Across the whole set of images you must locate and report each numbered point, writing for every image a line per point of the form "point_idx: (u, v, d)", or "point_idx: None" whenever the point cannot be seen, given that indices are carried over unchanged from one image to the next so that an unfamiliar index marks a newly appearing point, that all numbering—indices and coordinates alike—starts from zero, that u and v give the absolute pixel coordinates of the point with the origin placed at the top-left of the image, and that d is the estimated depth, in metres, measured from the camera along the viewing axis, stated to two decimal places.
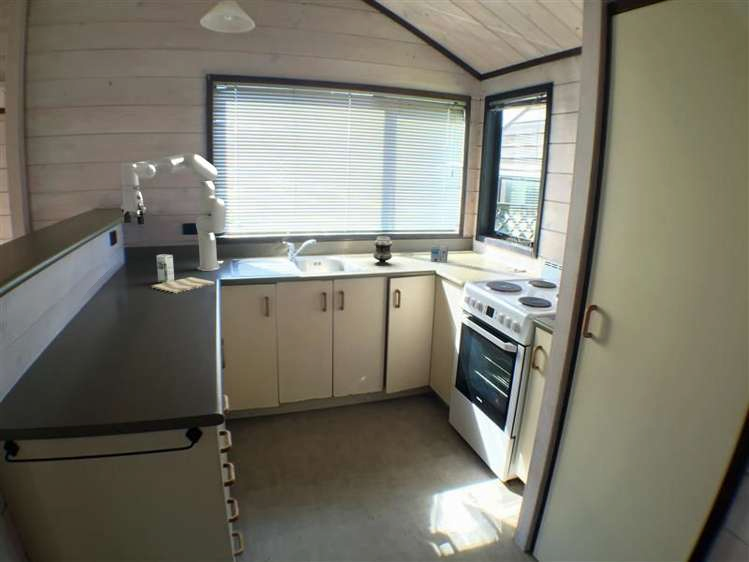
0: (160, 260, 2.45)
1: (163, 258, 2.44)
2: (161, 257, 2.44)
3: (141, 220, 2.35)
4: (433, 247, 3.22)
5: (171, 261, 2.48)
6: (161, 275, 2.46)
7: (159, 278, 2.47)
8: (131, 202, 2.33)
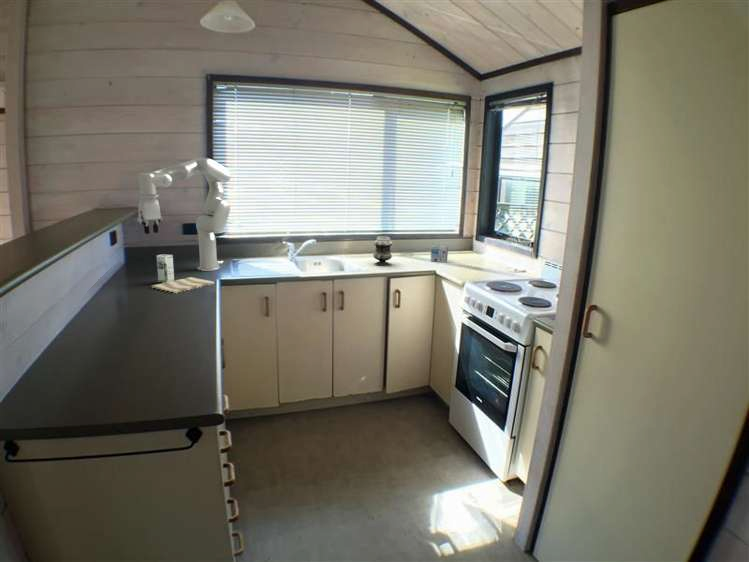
0: (160, 260, 2.45)
1: (163, 258, 2.44)
2: (161, 257, 2.44)
3: None
4: (433, 247, 3.22)
5: (171, 261, 2.48)
6: (161, 275, 2.46)
7: (159, 278, 2.47)
8: (156, 210, 2.46)
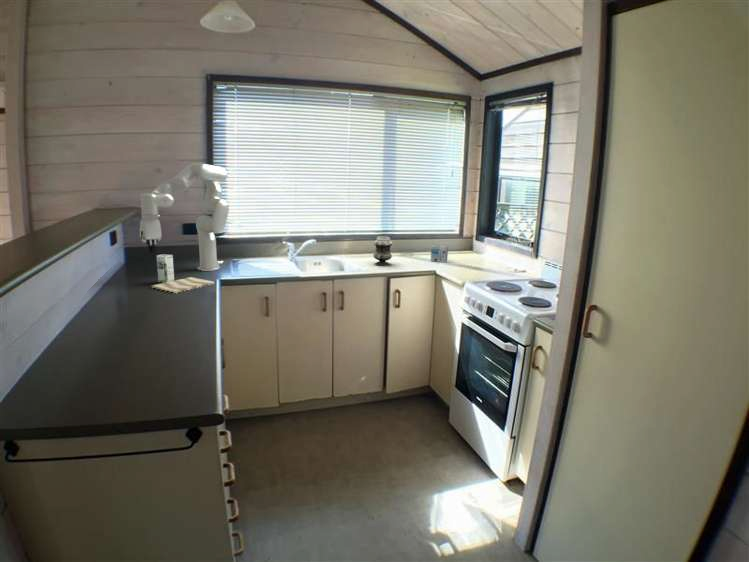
0: (160, 260, 2.45)
1: (163, 258, 2.44)
2: (161, 257, 2.44)
3: None
4: (433, 247, 3.22)
5: (171, 261, 2.48)
6: (161, 275, 2.46)
7: (159, 278, 2.47)
8: (157, 229, 2.49)
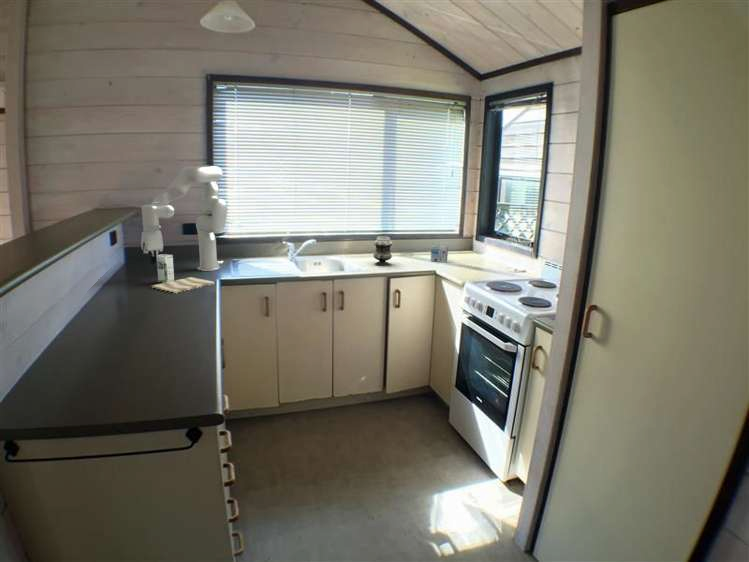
0: (160, 260, 2.45)
1: (163, 258, 2.44)
2: (161, 257, 2.44)
3: None
4: (433, 247, 3.22)
5: (171, 261, 2.48)
6: (161, 275, 2.46)
7: (159, 278, 2.47)
8: (159, 240, 2.50)
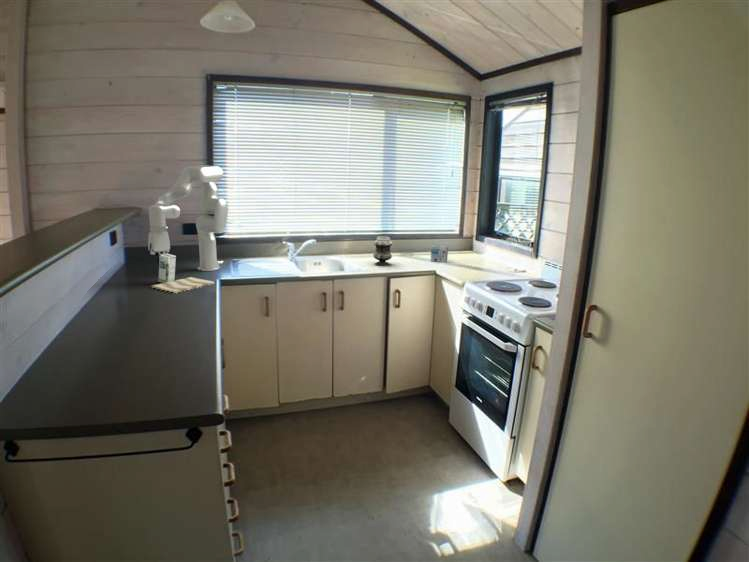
0: (163, 260, 2.44)
1: (166, 258, 2.43)
2: (164, 257, 2.43)
3: None
4: (433, 247, 3.22)
5: (174, 261, 2.47)
6: (162, 275, 2.46)
7: (160, 277, 2.47)
8: (166, 241, 2.47)
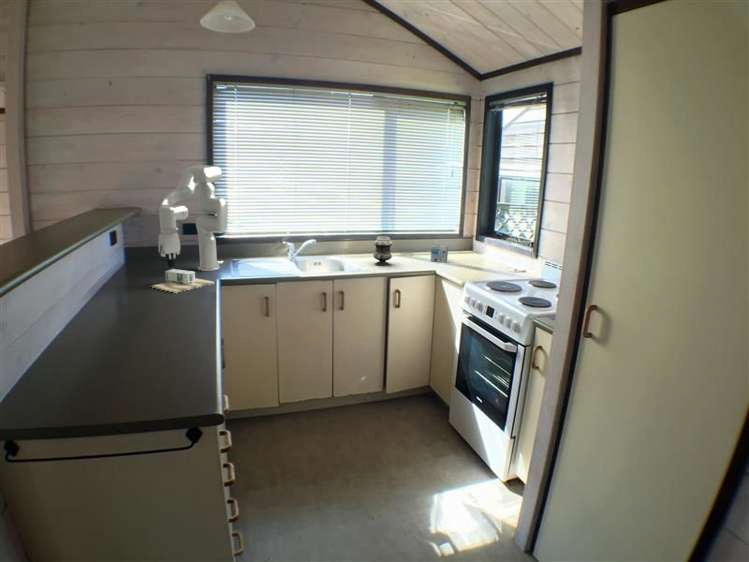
0: (184, 278, 2.41)
1: (186, 282, 2.42)
2: (186, 280, 2.41)
3: None
4: (433, 247, 3.22)
5: None
6: (171, 277, 2.44)
7: (168, 273, 2.44)
8: (176, 243, 2.43)
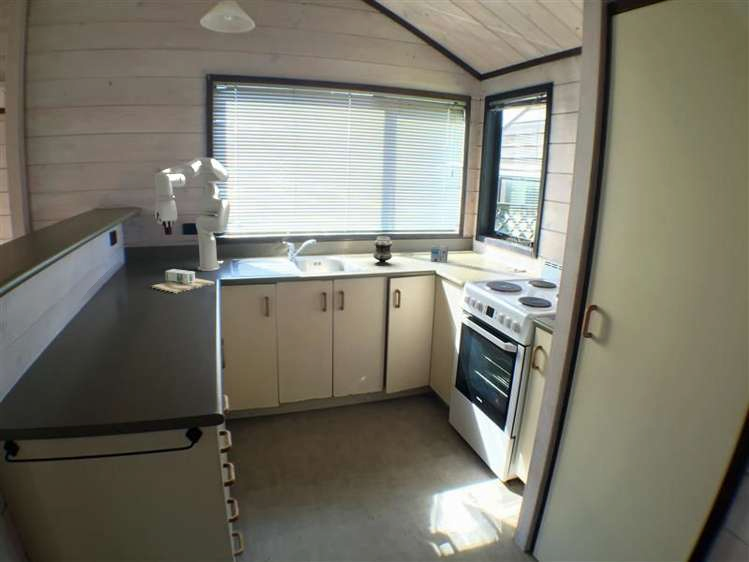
0: (184, 278, 2.41)
1: (186, 282, 2.42)
2: (186, 280, 2.41)
3: None
4: (433, 247, 3.22)
5: None
6: (171, 277, 2.44)
7: (168, 273, 2.44)
8: (173, 211, 2.42)
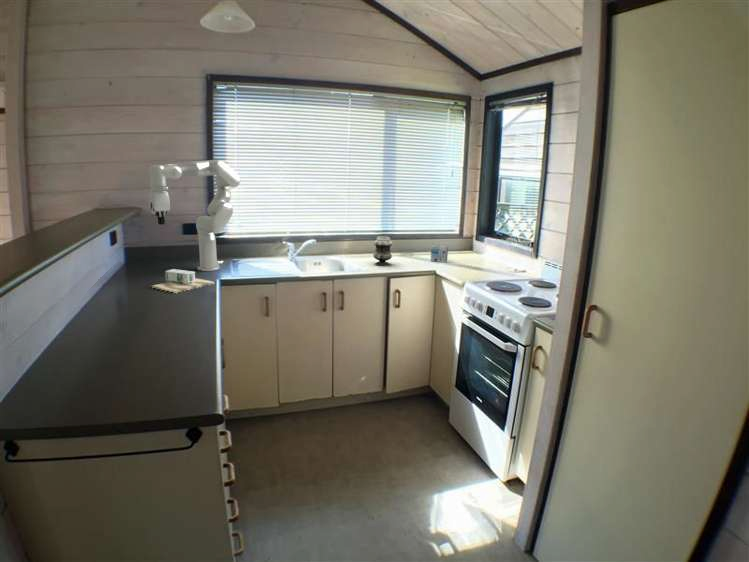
0: (184, 278, 2.41)
1: (186, 282, 2.42)
2: (186, 280, 2.41)
3: None
4: (433, 247, 3.22)
5: None
6: (171, 277, 2.44)
7: (168, 273, 2.44)
8: (166, 201, 2.52)
